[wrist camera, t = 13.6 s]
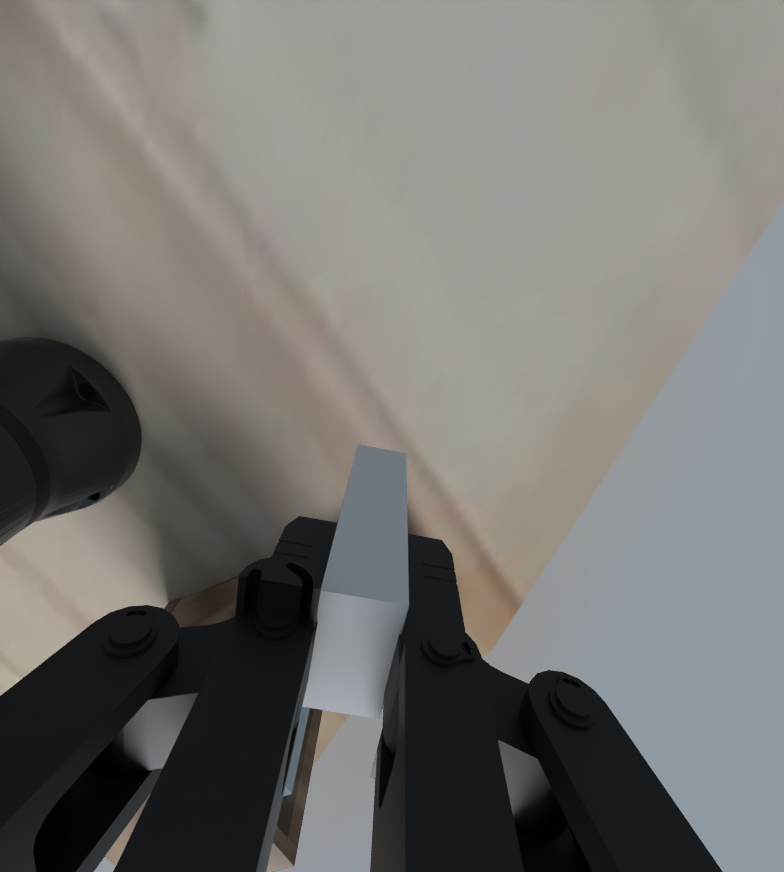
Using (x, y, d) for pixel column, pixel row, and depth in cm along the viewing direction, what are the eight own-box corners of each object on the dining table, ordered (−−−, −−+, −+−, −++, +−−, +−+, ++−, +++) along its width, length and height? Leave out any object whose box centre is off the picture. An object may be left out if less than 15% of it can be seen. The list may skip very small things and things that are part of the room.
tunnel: (267, 563, 44) (185, 743, 28) (331, 658, 49) (294, 866, 32) (168, 603, 46) (35, 793, 30) (238, 691, 51) (156, 902, 34)
